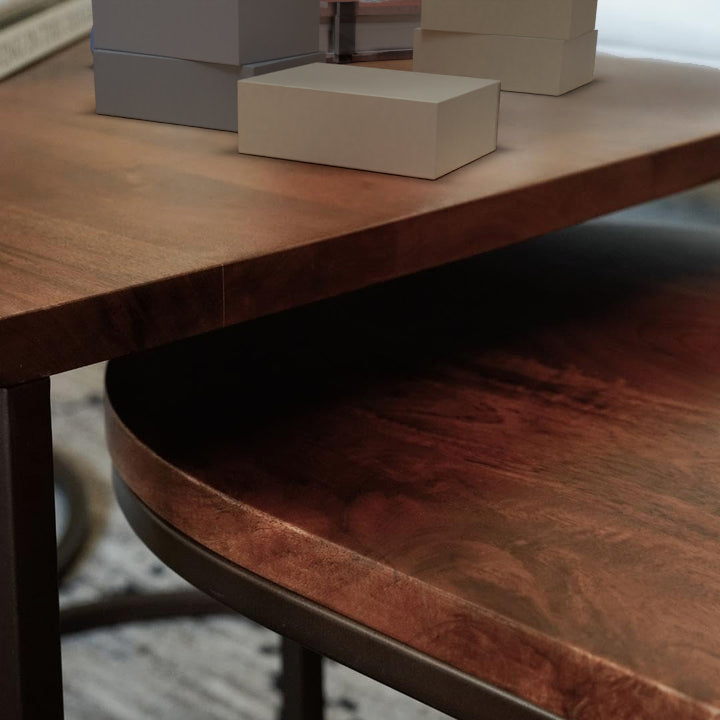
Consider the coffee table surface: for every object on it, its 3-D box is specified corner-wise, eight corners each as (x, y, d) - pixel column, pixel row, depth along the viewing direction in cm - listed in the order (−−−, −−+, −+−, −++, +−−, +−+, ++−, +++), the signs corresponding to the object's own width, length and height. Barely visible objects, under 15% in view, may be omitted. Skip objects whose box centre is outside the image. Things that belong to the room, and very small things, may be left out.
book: (207, 70, 93) (205, 6, 92) (130, 44, 107) (127, -13, 105) (472, 56, 106) (476, -1, 104) (373, 34, 120) (374, -17, 118)
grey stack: (326, 112, 78) (328, -14, 75) (251, 135, 70) (249, -4, 67) (174, 94, 83) (170, -24, 80) (87, 114, 75) (79, -17, 72)
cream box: (496, 149, 68) (501, 80, 66) (434, 180, 60) (438, 102, 59) (316, 127, 73) (317, 62, 71) (237, 152, 65) (236, 80, 64)
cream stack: (597, 81, 94) (607, -24, 91) (560, 97, 86) (570, -17, 83) (456, 67, 99) (461, -32, 96) (409, 81, 91) (413, -26, 88)
